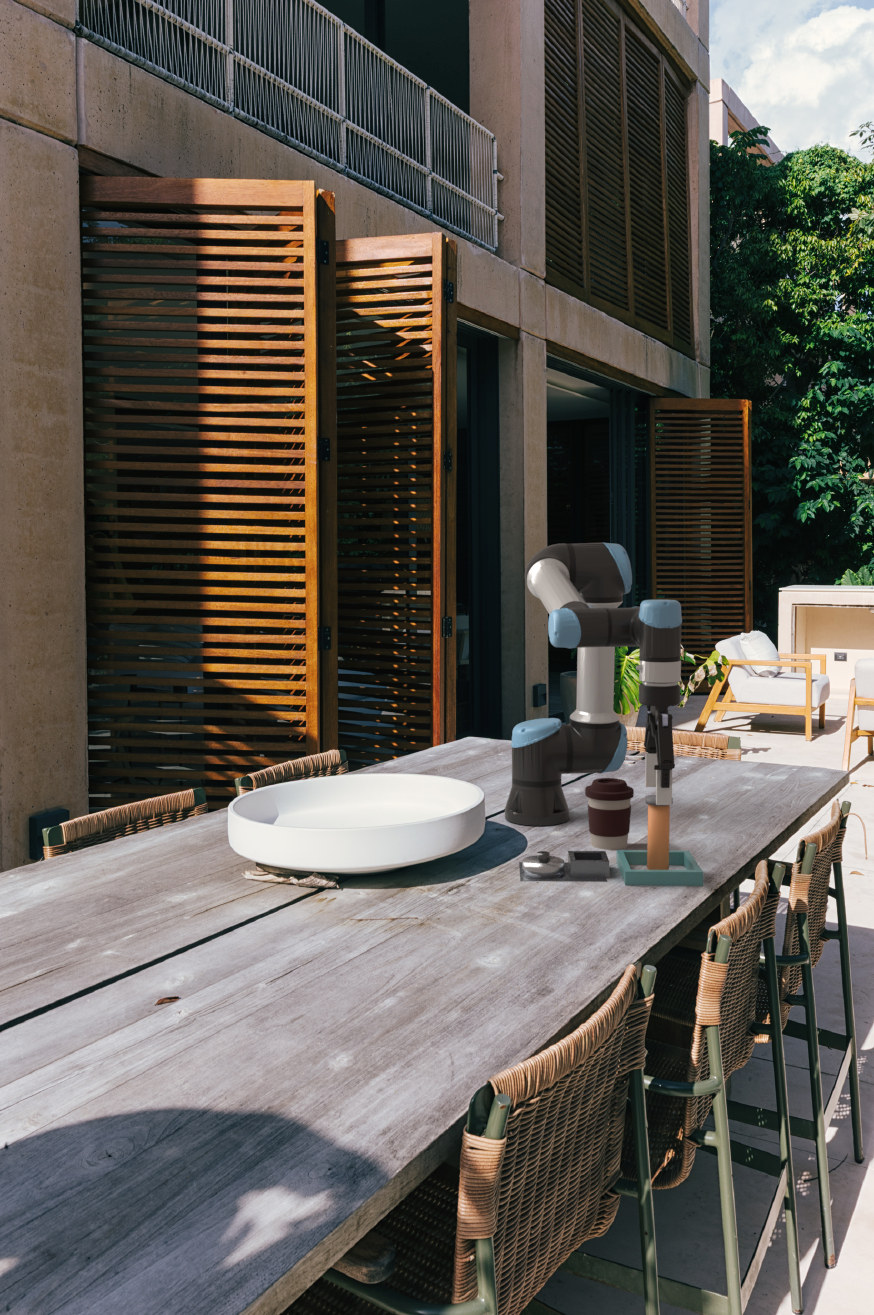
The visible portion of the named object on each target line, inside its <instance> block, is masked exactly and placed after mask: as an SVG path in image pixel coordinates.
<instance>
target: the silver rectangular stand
mask: <svg viewBox="0 0 874 1315" xmlns="http://www.w3.org/2000/svg"><path fill="white" fill-rule="evenodd" d="M518 864H519V866H518V867H519V878H520V879H519V882H571V883H572V882H574V883H575V882H576V883H577V882H579V883H580V882H581V883H583V882H584V883H585V882H588V883H590V882H593V883H595V882H596V883H598V882H599V883H600V882H601V883H605V882H608V878H610V860H609V858H608V854H607V851H606V850H567V862H566V861H565V860H564V859H563V858H562V857H559V856H556V855H555V856H554V855H551V854H550V851H545V850H541V851H540V850H539V851H537V852H536V855H529V856H526V857H524V858H522V860H521V861H518Z"/></svg>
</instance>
